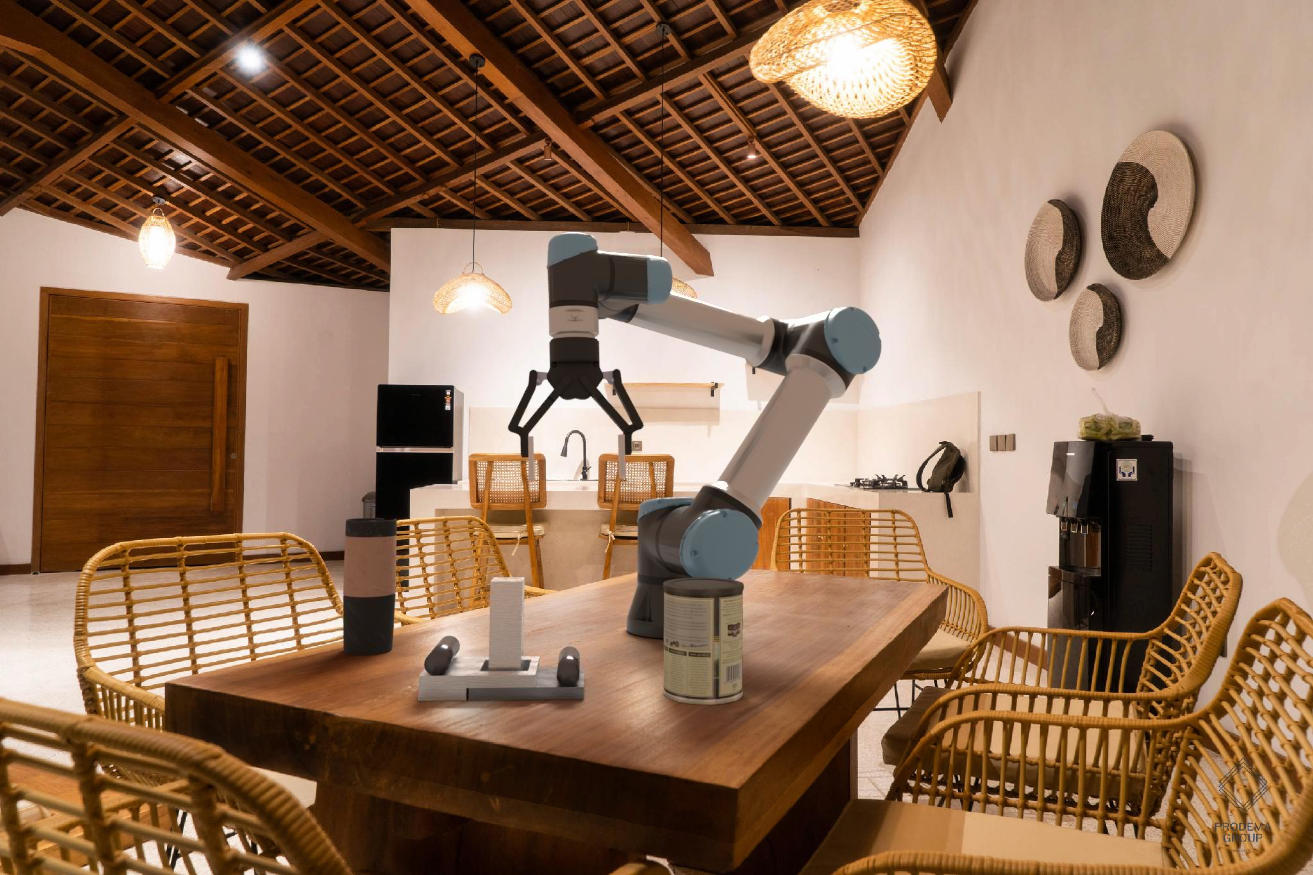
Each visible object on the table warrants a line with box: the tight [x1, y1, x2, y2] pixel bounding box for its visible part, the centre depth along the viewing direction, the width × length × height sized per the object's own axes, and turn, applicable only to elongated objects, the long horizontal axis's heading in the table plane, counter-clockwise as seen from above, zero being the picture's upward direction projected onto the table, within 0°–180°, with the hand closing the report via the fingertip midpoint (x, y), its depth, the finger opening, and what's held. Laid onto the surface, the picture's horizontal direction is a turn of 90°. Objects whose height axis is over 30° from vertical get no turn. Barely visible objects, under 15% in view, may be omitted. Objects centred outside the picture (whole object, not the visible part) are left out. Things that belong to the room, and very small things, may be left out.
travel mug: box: [342, 517, 398, 656], centre depth 127 cm, size 8×8×20 cm
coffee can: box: [662, 578, 745, 706], centre depth 105 cm, size 10×10×14 cm
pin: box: [488, 576, 526, 671], centre depth 106 cm, size 4×4×14 cm
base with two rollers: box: [417, 635, 585, 702], centre depth 106 cm, size 20×10×6 cm, turn 95°
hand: (577, 479), depth 124 cm, fingers open, 13 cm apart
